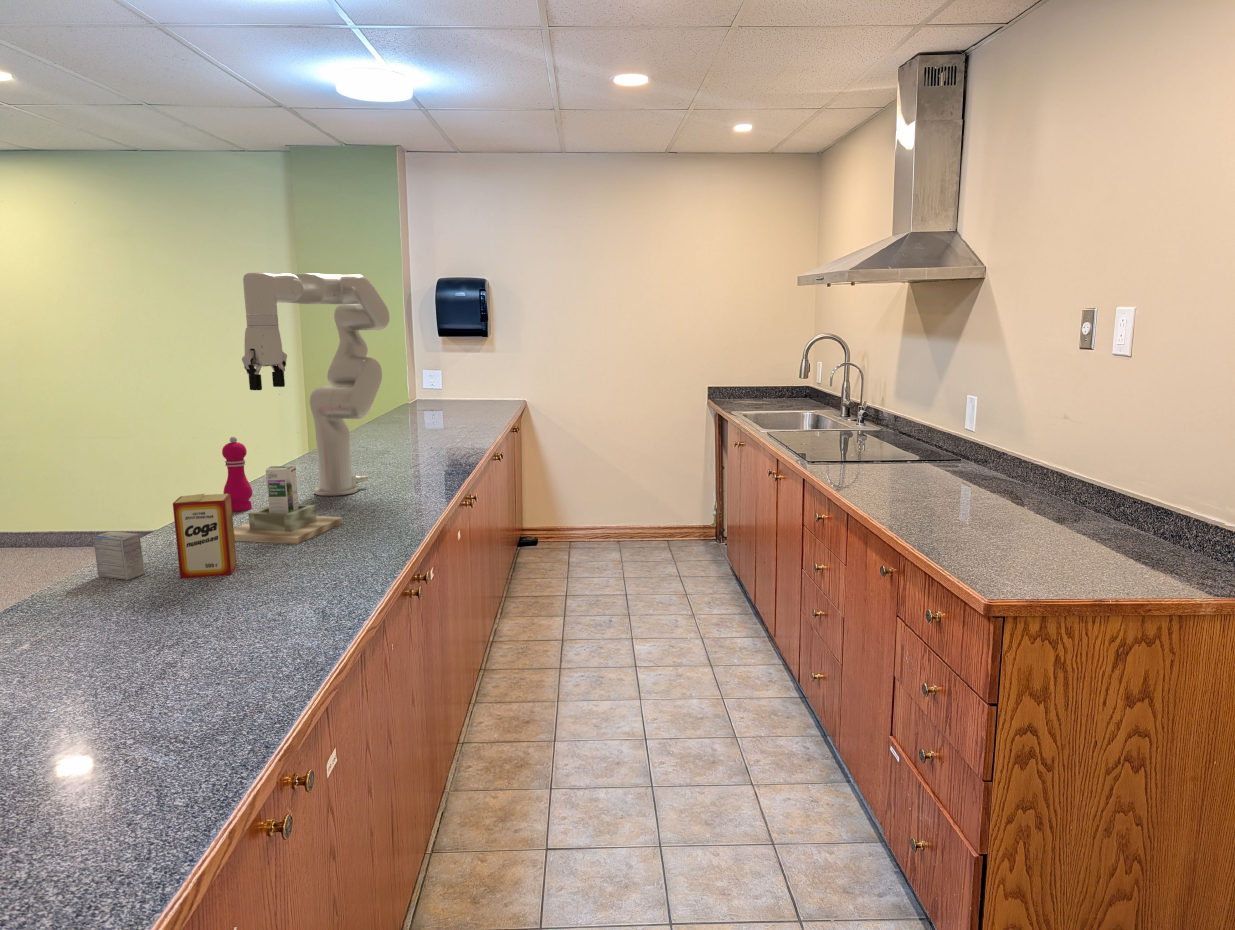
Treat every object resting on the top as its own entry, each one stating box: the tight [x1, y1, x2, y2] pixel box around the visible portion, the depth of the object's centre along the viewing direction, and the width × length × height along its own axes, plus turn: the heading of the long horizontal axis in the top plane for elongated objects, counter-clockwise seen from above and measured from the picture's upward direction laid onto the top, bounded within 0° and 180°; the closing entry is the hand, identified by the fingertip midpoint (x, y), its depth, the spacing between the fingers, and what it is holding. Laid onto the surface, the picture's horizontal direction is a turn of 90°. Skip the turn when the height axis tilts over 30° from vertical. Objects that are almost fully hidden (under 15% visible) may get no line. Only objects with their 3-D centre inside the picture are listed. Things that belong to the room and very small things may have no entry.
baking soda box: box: [172, 493, 238, 580], centre depth 171 cm, size 10×6×16 cm
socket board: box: [233, 503, 344, 545], centre depth 204 cm, size 20×20×6 cm
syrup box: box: [265, 464, 299, 514], centre depth 204 cm, size 6×6×14 cm
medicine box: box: [92, 530, 145, 581], centre depth 170 cm, size 8×4×9 cm, turn 71°
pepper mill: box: [221, 436, 253, 512], centre depth 226 cm, size 7×7×20 cm
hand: (267, 388), depth 218 cm, fingers open, 9 cm apart
